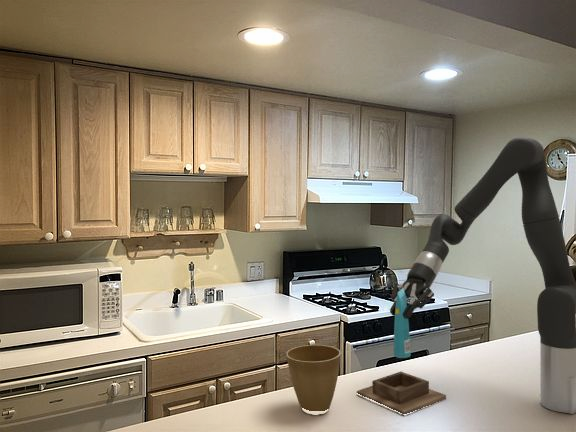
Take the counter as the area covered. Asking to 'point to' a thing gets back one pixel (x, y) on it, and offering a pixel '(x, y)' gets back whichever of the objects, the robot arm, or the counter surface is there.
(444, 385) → the counter surface
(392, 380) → the socket board
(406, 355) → the tube
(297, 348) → the plant pot
